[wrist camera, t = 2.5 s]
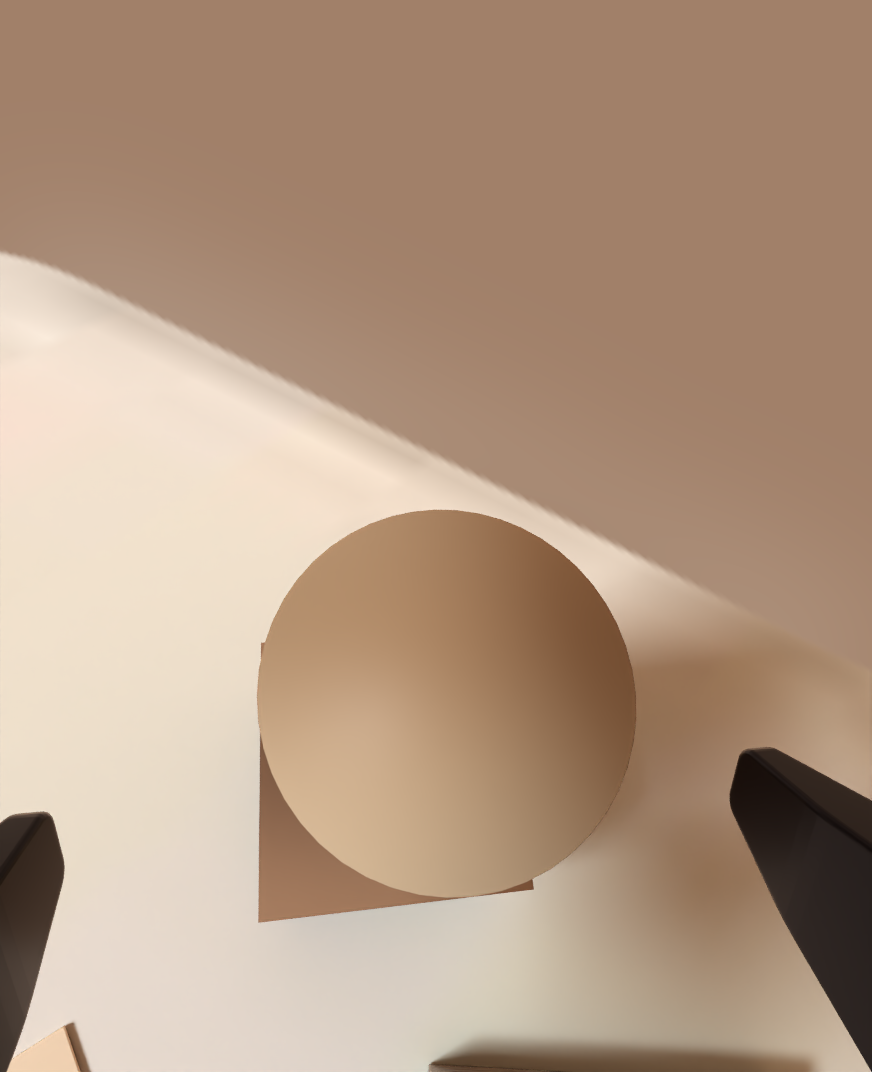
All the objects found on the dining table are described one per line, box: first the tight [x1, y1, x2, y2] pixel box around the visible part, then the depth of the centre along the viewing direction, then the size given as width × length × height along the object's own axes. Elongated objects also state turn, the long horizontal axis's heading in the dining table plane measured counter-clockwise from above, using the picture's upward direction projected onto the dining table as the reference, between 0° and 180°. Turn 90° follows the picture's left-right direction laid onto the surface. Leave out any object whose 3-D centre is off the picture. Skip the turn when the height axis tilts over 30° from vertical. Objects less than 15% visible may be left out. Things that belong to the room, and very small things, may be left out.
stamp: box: [257, 510, 636, 923], centre depth 11 cm, size 5×5×12 cm
